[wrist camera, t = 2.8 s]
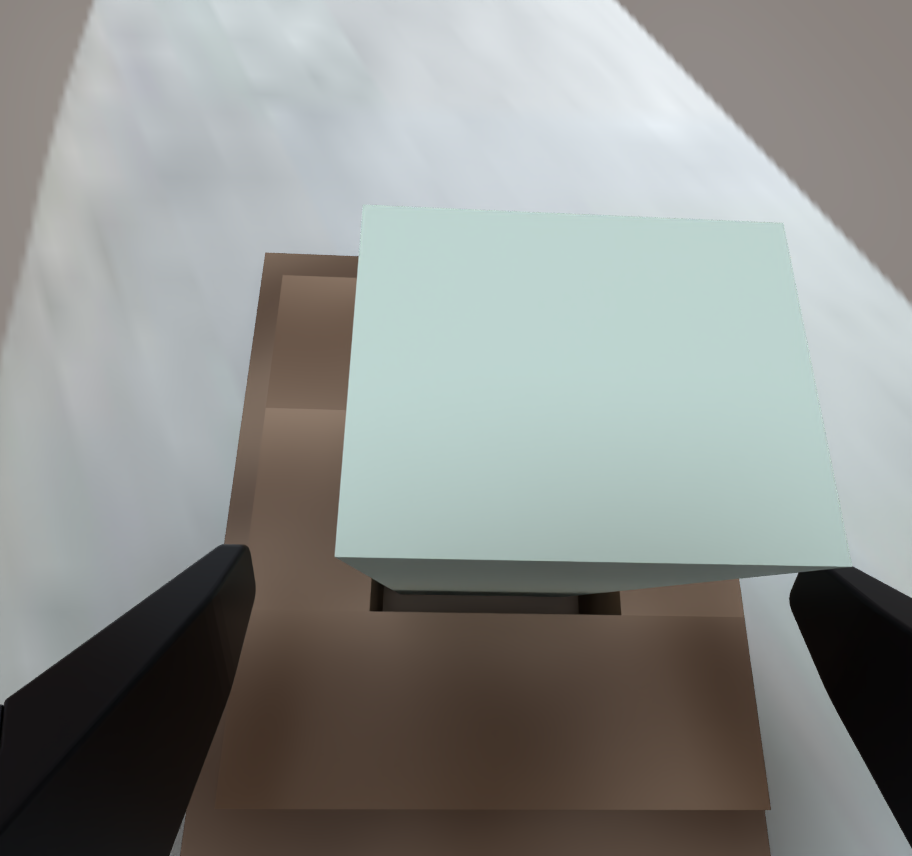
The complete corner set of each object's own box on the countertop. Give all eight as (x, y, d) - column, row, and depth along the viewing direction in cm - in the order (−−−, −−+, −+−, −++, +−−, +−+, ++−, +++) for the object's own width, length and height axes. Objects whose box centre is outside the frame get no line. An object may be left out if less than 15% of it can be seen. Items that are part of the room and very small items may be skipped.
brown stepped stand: (765, 900, 16) (896, 1012, 11) (181, 903, 15) (79, 1022, 11) (684, 278, 22) (748, 195, 17) (270, 262, 21) (228, 171, 17)
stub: (562, 597, 17) (853, 566, 5) (395, 594, 17) (319, 557, 5) (557, 466, 18) (781, 212, 7) (401, 462, 18) (351, 194, 7)
